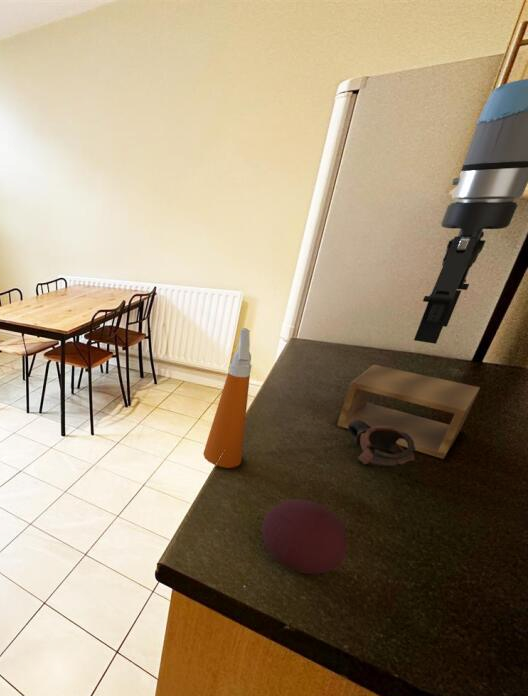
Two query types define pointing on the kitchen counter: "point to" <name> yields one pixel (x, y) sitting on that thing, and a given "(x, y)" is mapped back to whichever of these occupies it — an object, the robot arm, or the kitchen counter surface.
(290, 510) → the decorative ball
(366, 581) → the kitchen counter surface
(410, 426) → the tan open box
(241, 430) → the spray bottle
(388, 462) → the pottery mug
